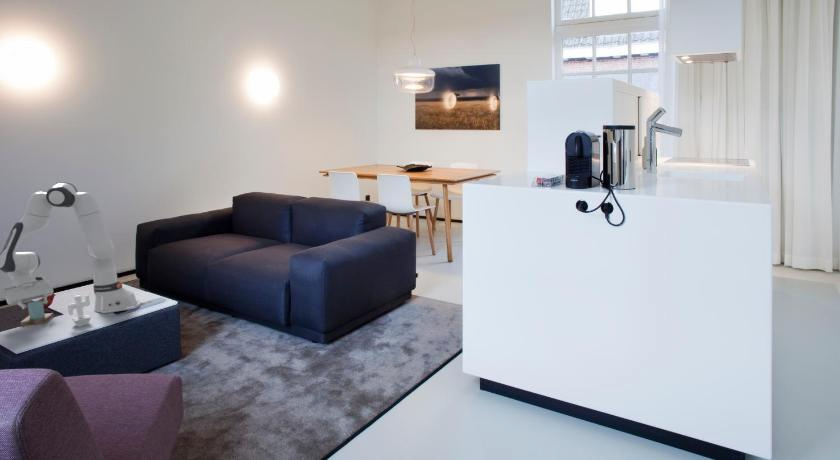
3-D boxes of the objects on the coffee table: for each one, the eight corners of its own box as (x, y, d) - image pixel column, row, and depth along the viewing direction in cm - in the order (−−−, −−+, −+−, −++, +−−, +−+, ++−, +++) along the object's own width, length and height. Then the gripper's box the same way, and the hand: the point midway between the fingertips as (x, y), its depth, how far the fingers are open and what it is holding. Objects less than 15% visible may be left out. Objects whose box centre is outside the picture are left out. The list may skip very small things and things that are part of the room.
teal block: (40, 315, 291) (38, 300, 289) (44, 316, 288) (42, 301, 286) (29, 317, 287) (27, 302, 285) (33, 319, 284) (31, 304, 282)
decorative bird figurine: (59, 309, 306) (56, 291, 304) (20, 317, 294) (17, 299, 292) (57, 308, 308) (55, 290, 306) (19, 316, 296) (15, 298, 294)
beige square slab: (53, 316, 294) (53, 312, 294) (45, 323, 284) (45, 319, 283) (30, 318, 292) (29, 315, 291) (20, 325, 281) (20, 322, 281)
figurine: (69, 325, 279) (64, 296, 277) (90, 320, 286) (86, 292, 283) (72, 328, 274) (68, 299, 272) (94, 323, 281) (90, 294, 278)
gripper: (1, 285, 280) (12, 307, 276) (47, 276, 296) (58, 296, 292) (0, 293, 283) (10, 314, 279) (45, 283, 300) (56, 303, 296)
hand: (35, 305), depth 286 cm, fingers open, 8 cm apart
